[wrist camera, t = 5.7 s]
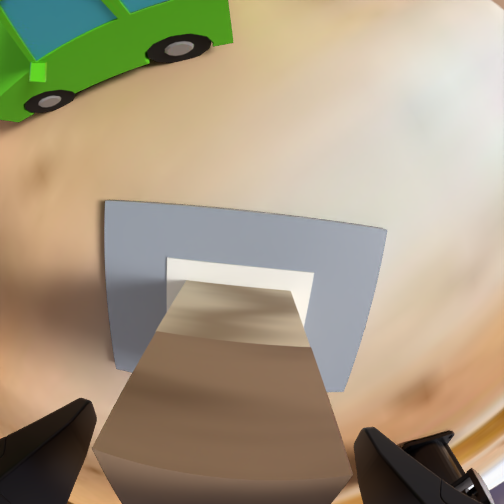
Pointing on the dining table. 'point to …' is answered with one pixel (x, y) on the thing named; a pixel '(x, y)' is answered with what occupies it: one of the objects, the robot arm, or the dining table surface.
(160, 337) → the walnut block
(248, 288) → the beech block
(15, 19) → the toy car
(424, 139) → the dining table surface
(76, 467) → the robot arm
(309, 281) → the board
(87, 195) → the dining table surface
